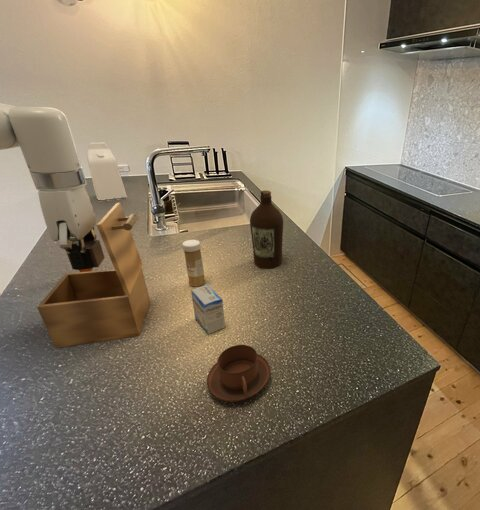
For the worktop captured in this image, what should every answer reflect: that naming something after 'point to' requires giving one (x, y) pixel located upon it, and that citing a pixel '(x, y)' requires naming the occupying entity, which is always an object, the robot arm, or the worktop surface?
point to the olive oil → (267, 233)
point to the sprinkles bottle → (194, 262)
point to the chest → (93, 308)
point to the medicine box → (208, 309)
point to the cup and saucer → (238, 374)
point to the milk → (104, 172)
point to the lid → (121, 245)
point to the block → (92, 252)
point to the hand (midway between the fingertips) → (88, 262)
